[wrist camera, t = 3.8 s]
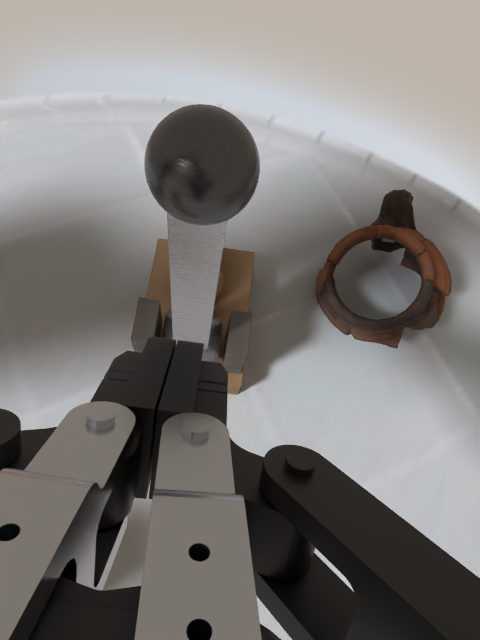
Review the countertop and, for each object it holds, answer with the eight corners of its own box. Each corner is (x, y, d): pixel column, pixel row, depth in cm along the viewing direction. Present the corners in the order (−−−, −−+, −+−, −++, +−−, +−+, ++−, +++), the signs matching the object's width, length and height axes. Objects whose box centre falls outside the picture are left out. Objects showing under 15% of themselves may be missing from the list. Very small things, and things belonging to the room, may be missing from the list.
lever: (159, 368, 29) (128, 161, 12) (168, 316, 30) (152, 67, 13) (216, 375, 29) (264, 182, 12) (222, 323, 30) (273, 87, 14)
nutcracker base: (135, 381, 31) (124, 350, 25) (159, 256, 35) (155, 203, 29) (237, 394, 32) (250, 366, 26) (249, 269, 36) (263, 220, 30)
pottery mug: (447, 357, 35) (454, 345, 28) (325, 353, 39) (302, 340, 31) (448, 210, 37) (455, 160, 30) (331, 218, 41) (311, 175, 33)
